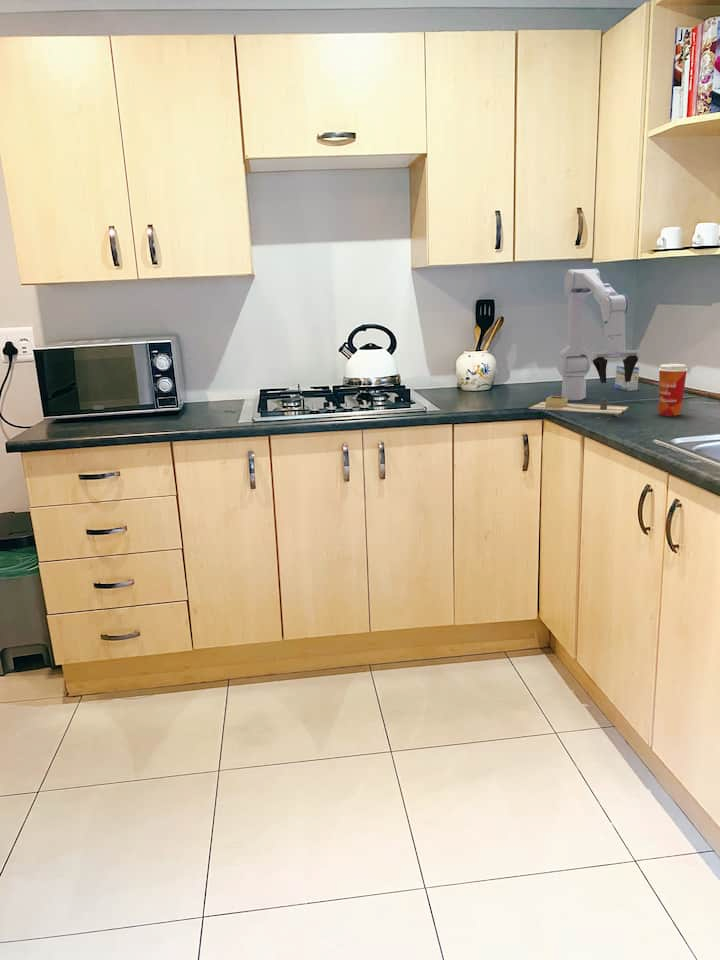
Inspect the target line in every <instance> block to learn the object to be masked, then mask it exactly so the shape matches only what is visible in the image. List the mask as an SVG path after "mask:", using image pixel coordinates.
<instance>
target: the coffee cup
mask: <svg viewBox="0 0 720 960" xmlns="http://www.w3.org/2000/svg"><path fill="white" fill-rule="evenodd" d="M688 370H689V369H688V366H687V365H686V364H682V363H662V364H660V365H659V368H658V371H659V372H658V373H659V374H658V379H659V380H658V415H659V414H661V415H660V416H662V415H669V416H668V417H676V416H675V415H679V416H680V415H681V412H682V405H683V399H684V398H683V397H684V391H685V386H686V385H685V384H686V378H687V372H688ZM672 415H673V416H672Z"/></svg>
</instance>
